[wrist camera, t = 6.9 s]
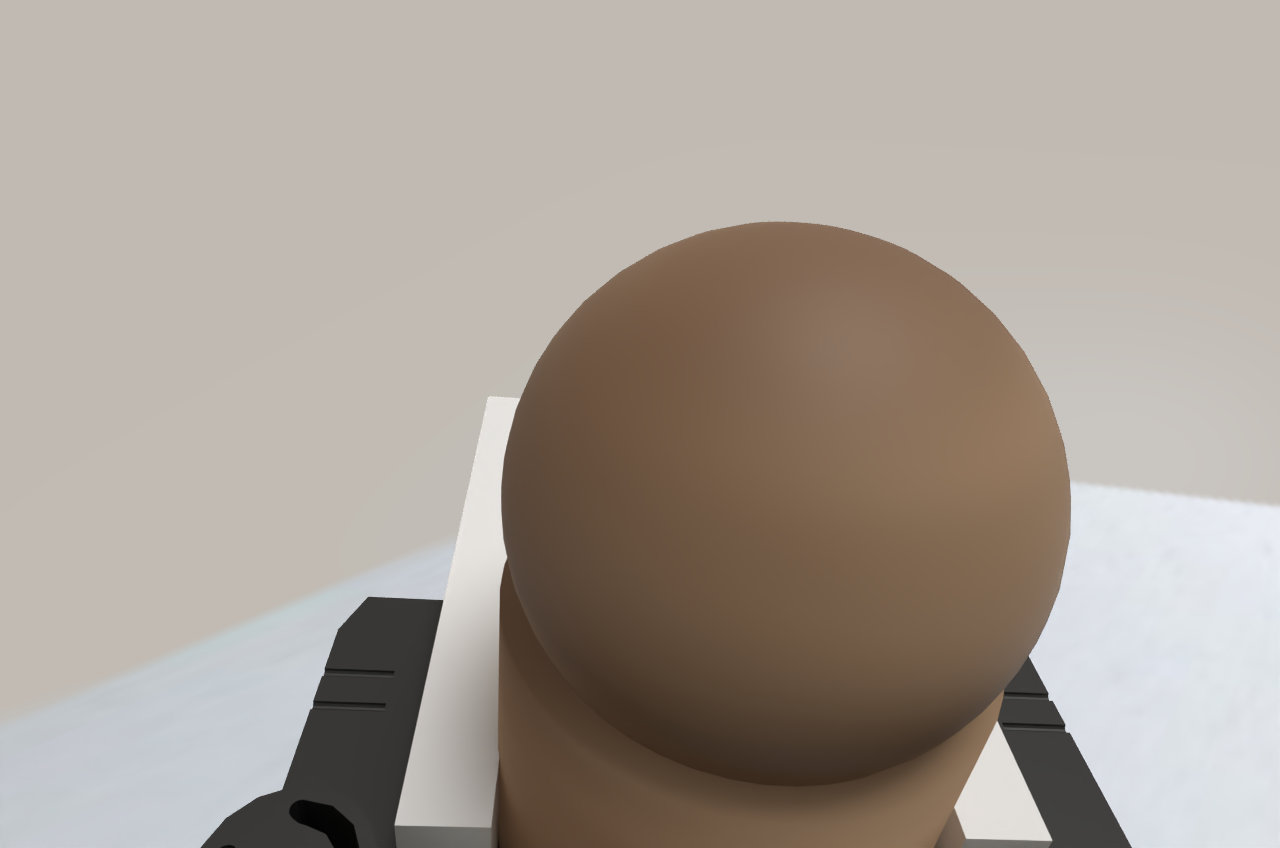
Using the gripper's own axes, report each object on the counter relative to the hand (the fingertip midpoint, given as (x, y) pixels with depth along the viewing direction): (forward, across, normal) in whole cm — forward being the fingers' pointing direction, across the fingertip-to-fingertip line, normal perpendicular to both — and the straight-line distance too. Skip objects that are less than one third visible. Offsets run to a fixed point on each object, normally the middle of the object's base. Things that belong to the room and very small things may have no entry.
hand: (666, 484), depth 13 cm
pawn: (-5, 0, -6) cm, 8 cm away
